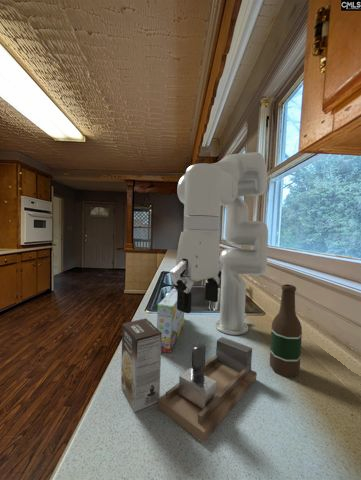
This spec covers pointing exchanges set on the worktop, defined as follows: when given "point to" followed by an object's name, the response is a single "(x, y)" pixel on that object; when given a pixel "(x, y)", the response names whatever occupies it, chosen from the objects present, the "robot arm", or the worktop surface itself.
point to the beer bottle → (286, 336)
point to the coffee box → (141, 363)
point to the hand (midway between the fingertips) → (198, 305)
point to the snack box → (169, 321)
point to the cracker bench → (227, 390)
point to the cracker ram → (197, 379)
